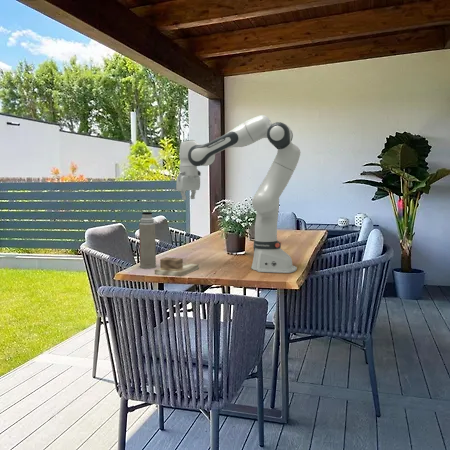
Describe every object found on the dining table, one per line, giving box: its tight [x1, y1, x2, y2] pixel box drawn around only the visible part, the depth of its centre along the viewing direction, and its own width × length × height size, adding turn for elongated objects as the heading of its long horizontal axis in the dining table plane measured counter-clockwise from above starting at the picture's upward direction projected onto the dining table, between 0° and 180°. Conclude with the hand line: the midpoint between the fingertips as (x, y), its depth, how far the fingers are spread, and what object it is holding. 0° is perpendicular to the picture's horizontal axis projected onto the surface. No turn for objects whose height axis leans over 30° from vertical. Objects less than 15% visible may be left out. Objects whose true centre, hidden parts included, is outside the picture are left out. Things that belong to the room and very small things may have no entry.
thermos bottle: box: [138, 211, 157, 269], centre depth 229 cm, size 8×8×28 cm
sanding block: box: [159, 257, 184, 271], centre depth 214 cm, size 9×6×5 cm, turn 68°
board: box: [154, 263, 200, 277], centre depth 219 cm, size 14×19×2 cm
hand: (188, 199), depth 232 cm, fingers open, 8 cm apart
